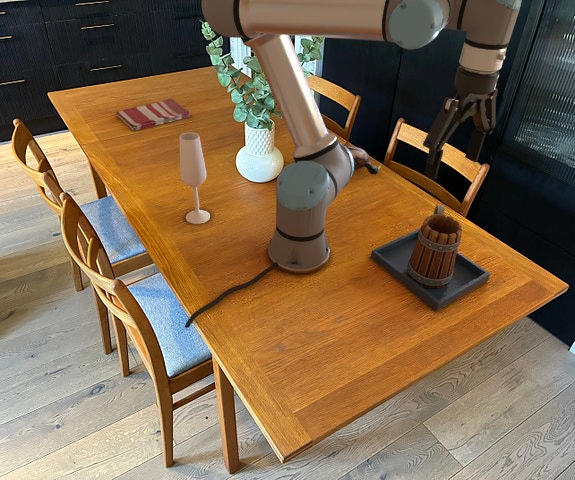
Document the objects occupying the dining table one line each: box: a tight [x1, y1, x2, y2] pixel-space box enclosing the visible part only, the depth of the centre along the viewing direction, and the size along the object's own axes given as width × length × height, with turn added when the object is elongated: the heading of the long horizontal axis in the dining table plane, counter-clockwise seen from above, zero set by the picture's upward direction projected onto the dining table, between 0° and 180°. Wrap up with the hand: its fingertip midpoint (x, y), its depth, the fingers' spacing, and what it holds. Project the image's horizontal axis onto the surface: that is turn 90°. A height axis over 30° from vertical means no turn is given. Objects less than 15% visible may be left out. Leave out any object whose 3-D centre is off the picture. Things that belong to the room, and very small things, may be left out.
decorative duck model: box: [342, 140, 382, 175], centre depth 147 cm, size 15×8×15 cm
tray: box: [370, 227, 491, 312], centre depth 113 cm, size 18×22×2 cm
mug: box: [407, 204, 463, 288], centre depth 109 cm, size 16×11×15 cm
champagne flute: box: [179, 131, 211, 225], centre depth 121 cm, size 7×7×24 cm
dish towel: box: [115, 98, 191, 131], centre depth 178 cm, size 17×23×3 cm
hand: (451, 167), depth 101 cm, fingers open, 13 cm apart
